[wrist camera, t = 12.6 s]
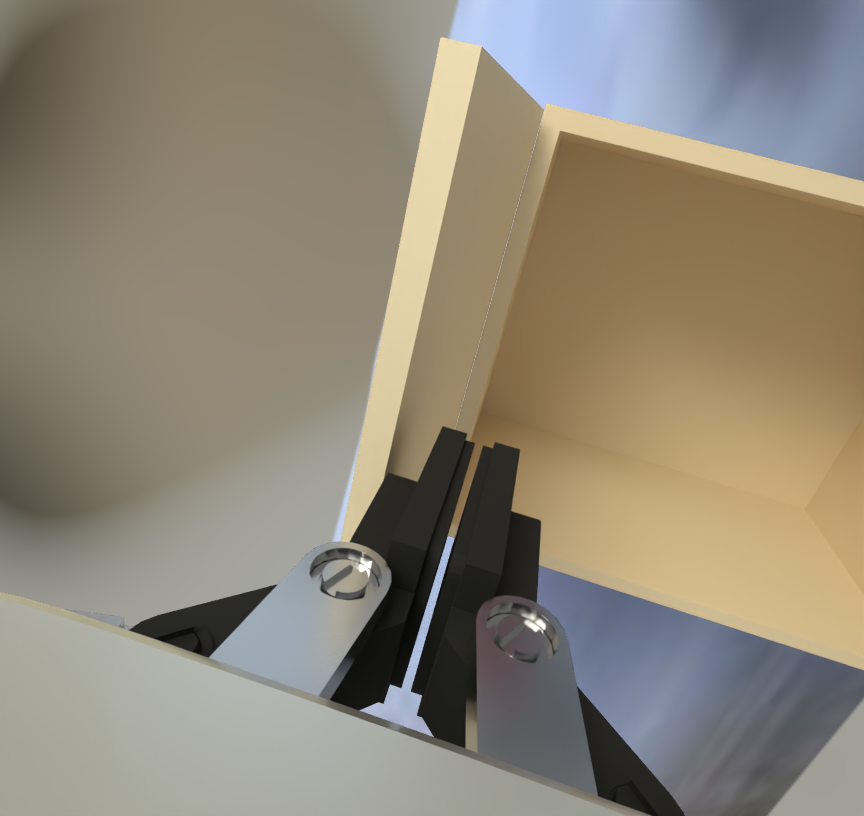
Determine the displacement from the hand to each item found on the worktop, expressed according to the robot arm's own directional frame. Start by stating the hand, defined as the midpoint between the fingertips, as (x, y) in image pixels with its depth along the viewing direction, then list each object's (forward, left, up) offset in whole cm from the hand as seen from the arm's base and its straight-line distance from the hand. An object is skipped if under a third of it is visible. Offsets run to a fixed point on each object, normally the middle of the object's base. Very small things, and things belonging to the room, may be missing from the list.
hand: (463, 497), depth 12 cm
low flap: (0, -1, -4) cm, 4 cm away
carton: (0, +9, -21) cm, 23 cm away
